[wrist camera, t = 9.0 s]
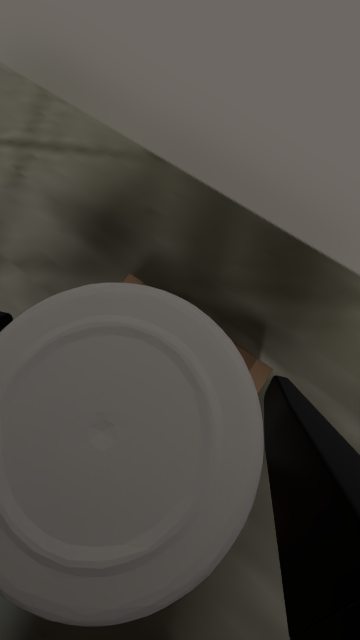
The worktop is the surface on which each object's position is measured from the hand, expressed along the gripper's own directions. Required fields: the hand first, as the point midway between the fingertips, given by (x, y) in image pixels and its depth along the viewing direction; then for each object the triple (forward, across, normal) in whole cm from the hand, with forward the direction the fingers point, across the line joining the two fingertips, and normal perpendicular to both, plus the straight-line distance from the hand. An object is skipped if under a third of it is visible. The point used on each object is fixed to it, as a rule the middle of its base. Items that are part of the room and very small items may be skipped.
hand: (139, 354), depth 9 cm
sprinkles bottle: (+5, -1, +7) cm, 9 cm away
